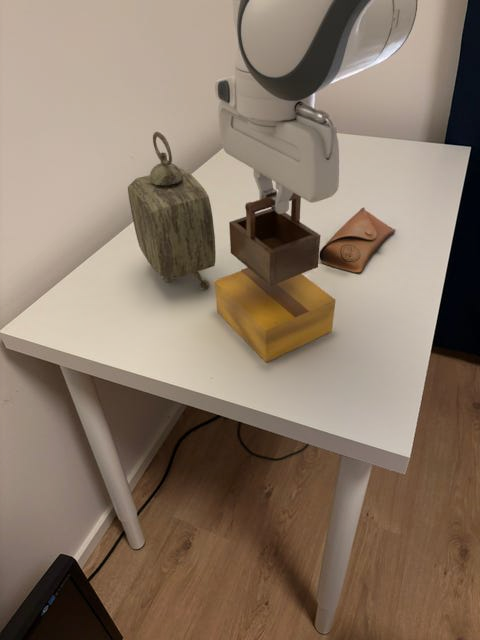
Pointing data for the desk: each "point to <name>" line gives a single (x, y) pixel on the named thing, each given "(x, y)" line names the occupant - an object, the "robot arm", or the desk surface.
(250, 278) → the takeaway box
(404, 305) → the desk surface
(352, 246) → the sunglasses case
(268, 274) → the basket
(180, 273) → the tabletop clock
